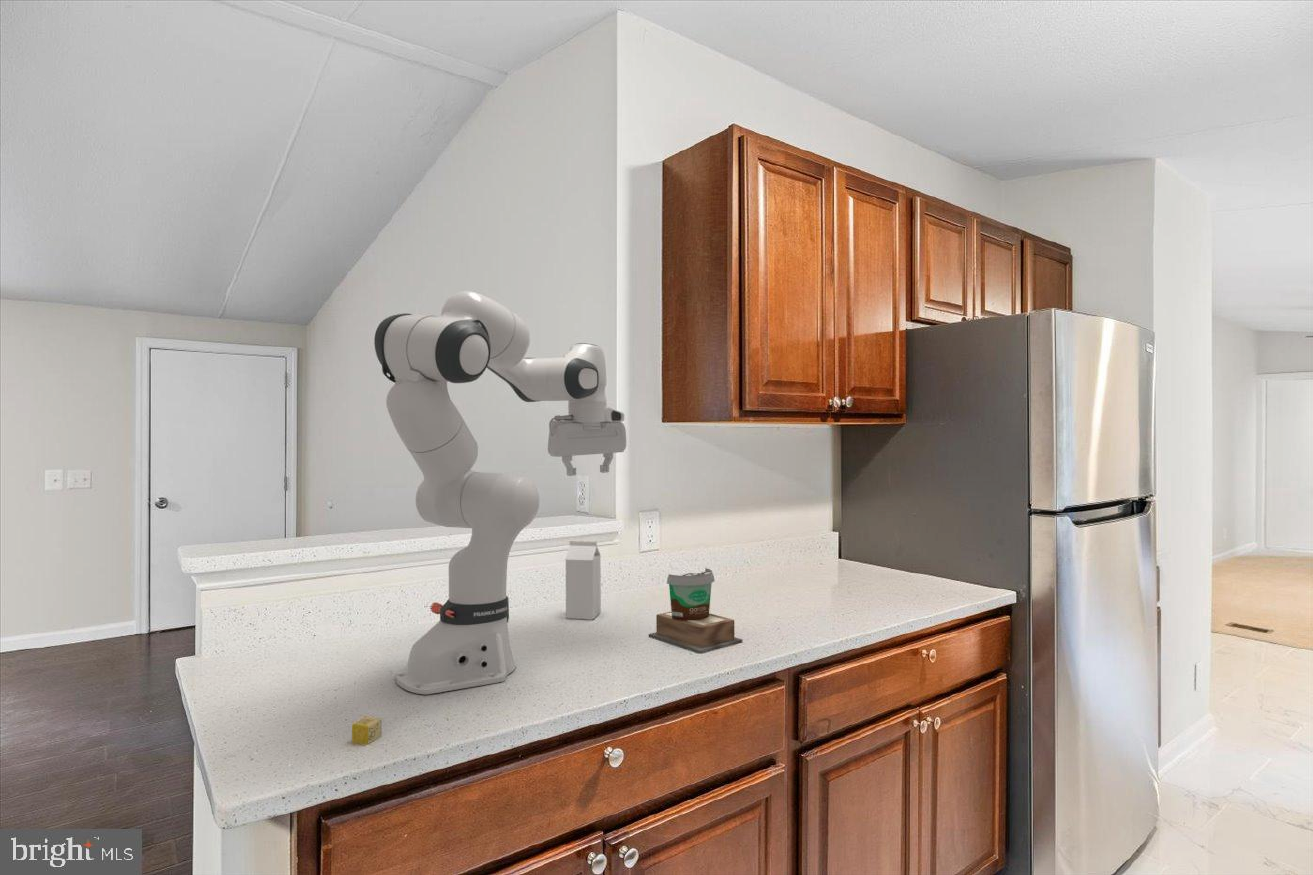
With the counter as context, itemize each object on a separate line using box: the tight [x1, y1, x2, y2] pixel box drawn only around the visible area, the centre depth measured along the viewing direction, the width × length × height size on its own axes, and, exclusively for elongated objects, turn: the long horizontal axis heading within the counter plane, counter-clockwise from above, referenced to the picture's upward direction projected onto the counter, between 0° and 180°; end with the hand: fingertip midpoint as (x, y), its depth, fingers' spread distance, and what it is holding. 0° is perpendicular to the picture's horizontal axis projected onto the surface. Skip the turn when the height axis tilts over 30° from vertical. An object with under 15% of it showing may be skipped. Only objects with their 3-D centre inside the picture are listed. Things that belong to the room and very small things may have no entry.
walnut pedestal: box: [648, 611, 743, 654], centre depth 167 cm, size 13×17×5 cm
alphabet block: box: [351, 715, 382, 745], centre depth 114 cm, size 3×3×3 cm
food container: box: [666, 567, 715, 620], centre depth 167 cm, size 12×6×10 cm, turn 129°
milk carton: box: [565, 540, 602, 621], centre depth 189 cm, size 7×7×19 cm
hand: (588, 474), depth 173 cm, fingers open, 8 cm apart
